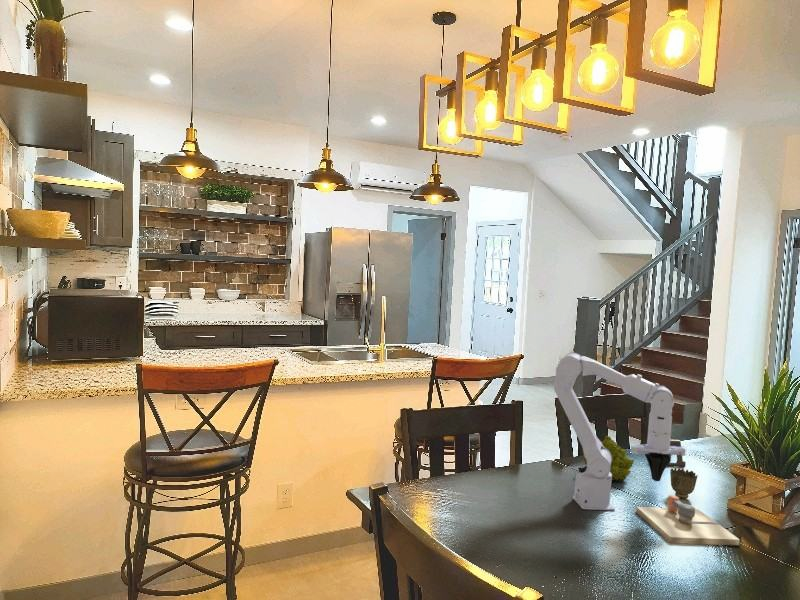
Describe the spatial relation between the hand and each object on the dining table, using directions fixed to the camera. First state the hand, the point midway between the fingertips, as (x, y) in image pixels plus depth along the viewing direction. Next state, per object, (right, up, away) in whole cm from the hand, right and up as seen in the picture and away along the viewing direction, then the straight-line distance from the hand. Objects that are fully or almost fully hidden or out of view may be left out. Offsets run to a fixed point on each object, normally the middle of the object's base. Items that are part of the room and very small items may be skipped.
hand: (655, 479), depth 158 cm
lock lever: (+5, -9, -3) cm, 11 cm away
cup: (+15, -11, +16) cm, 25 cm away
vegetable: (-3, -9, +30) cm, 31 cm away
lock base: (+5, -11, -5) cm, 13 cm away
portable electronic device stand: (+26, -10, +49) cm, 56 cm away
